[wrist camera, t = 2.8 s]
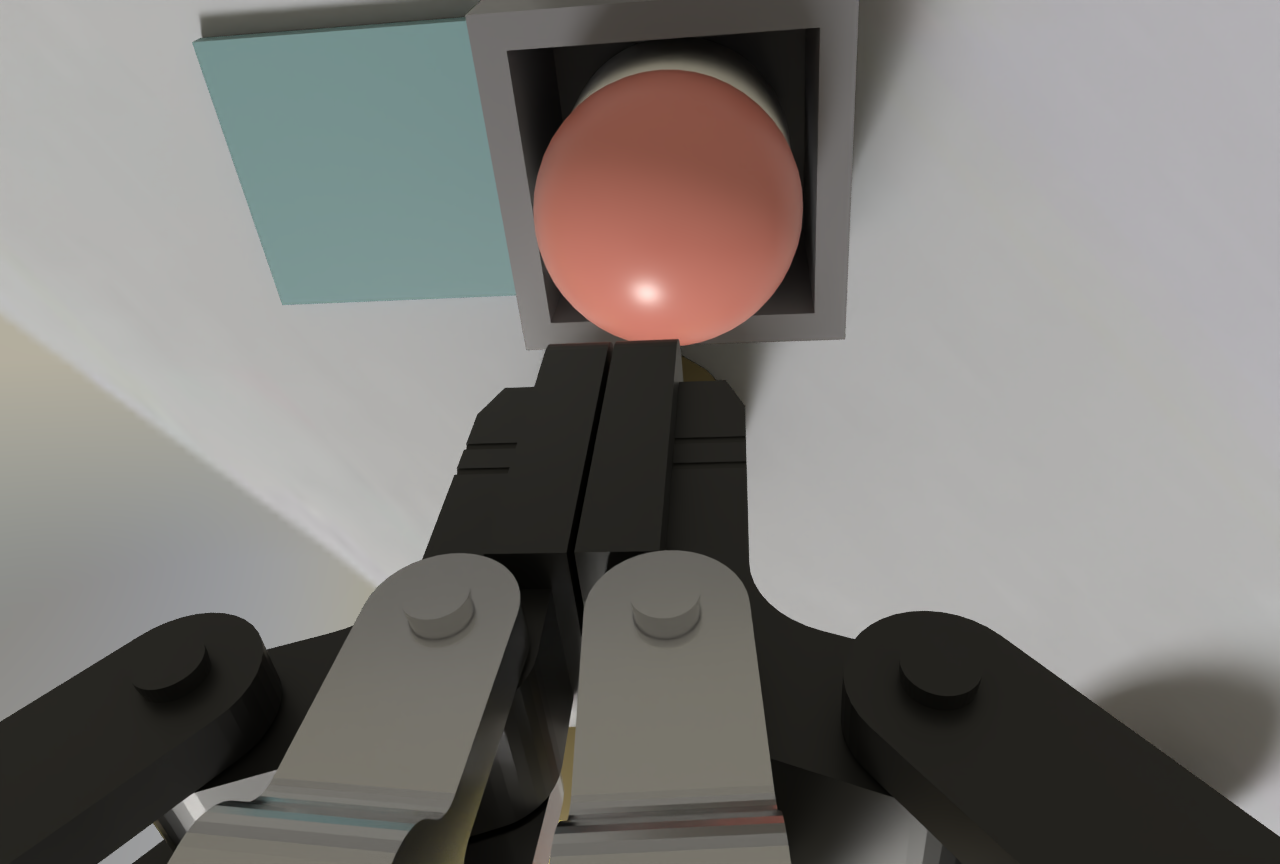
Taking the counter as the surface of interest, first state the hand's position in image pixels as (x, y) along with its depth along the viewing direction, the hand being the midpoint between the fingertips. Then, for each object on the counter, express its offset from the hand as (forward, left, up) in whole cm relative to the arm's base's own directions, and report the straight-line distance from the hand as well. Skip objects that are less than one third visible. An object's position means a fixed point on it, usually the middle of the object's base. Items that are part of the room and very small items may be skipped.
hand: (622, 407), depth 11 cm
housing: (0, 0, -12) cm, 12 cm away
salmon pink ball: (0, 0, -9) cm, 9 cm away
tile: (+7, +1, -12) cm, 14 cm away
